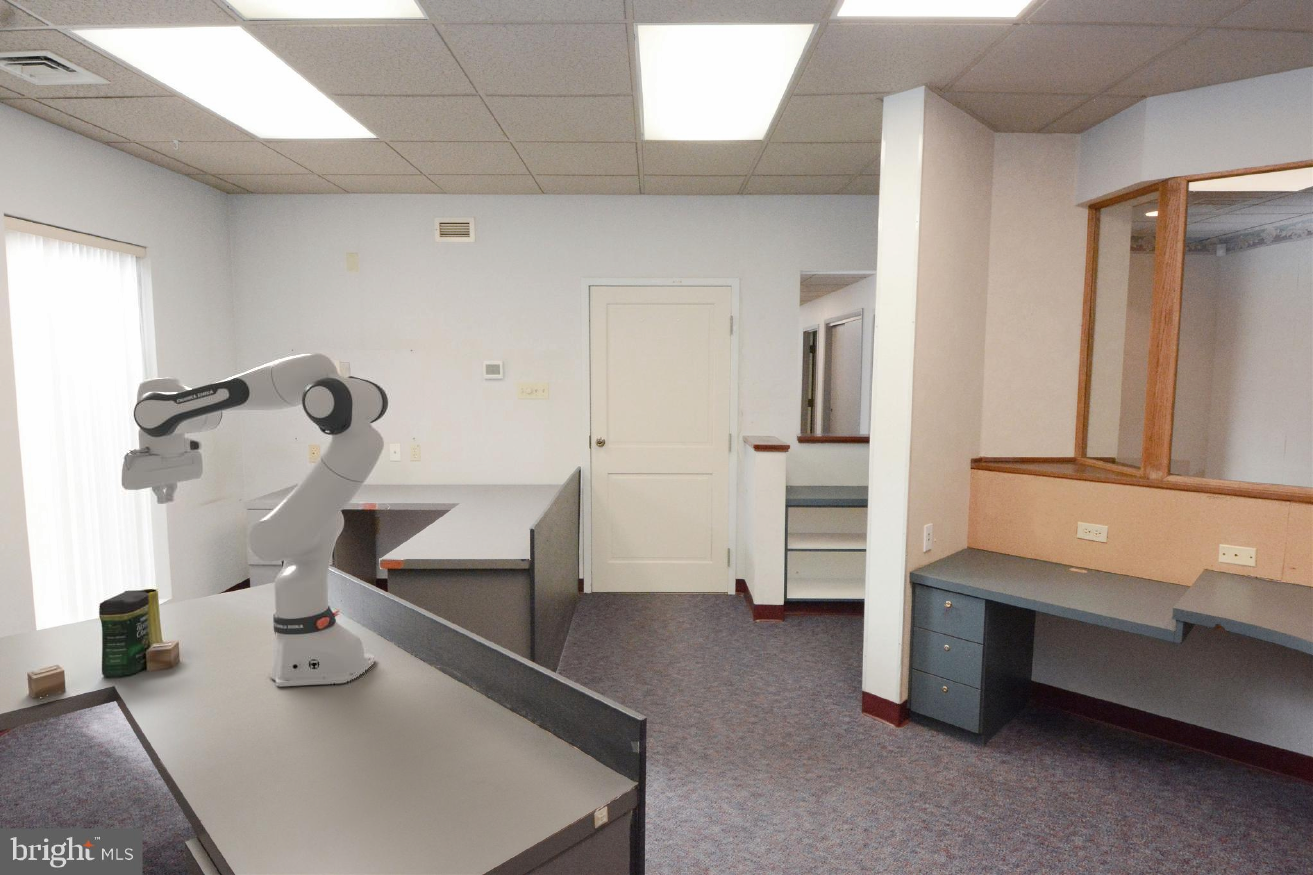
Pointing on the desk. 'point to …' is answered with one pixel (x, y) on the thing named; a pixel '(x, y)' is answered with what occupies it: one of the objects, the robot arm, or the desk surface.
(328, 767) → the desk surface
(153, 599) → the vase
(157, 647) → the marked block 2
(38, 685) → the marked block 1
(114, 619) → the coffee jar
